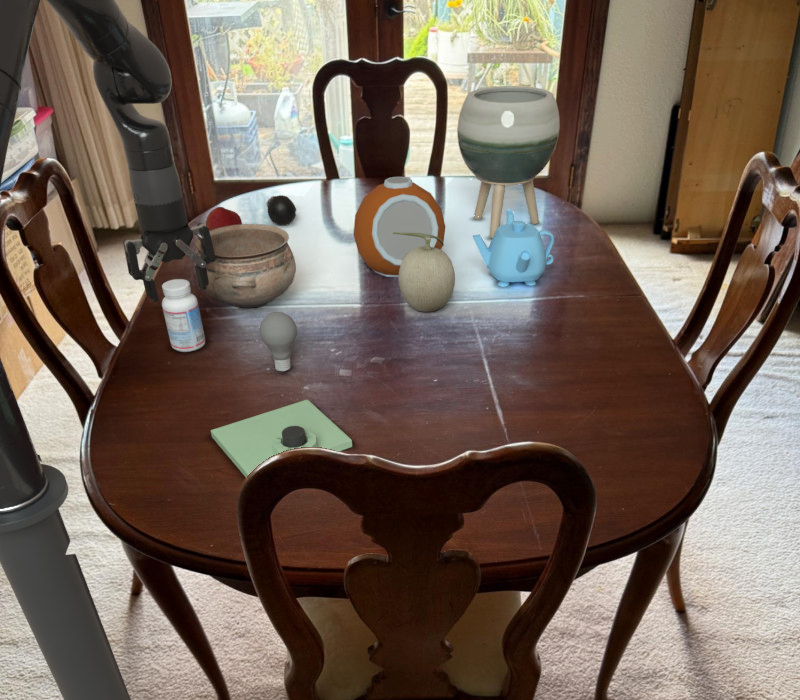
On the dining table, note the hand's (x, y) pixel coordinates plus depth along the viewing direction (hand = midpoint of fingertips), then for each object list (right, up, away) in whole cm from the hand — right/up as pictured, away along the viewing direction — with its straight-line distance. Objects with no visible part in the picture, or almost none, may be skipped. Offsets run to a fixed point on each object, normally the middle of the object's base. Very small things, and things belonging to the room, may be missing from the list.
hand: (179, 294), depth 133 cm
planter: (+62, +31, +51) cm, 86 cm away
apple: (-2, +26, +46) cm, 53 cm away
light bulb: (+18, -13, -2) cm, 23 cm away
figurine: (+9, +38, +60) cm, 72 cm away
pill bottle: (0, -7, +6) cm, 10 cm away
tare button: (+23, -28, -24) cm, 43 cm away
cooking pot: (+8, +4, +20) cm, 22 cm away
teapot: (+61, +11, +27) cm, 67 cm away
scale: (+20, -27, -19) cm, 39 cm away
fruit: (+43, +2, +16) cm, 46 cm away
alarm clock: (+38, +16, +33) cm, 53 cm away
